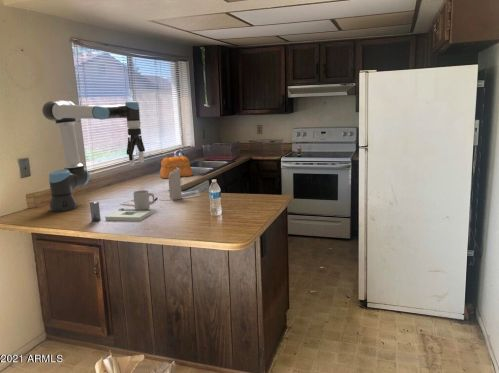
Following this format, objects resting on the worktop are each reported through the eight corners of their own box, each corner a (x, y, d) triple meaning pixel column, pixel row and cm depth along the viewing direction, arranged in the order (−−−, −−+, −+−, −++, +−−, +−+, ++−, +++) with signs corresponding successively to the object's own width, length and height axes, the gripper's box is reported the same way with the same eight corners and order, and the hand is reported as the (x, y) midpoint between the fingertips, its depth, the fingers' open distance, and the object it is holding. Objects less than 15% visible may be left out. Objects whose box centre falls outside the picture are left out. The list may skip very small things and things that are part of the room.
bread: (193, 176, 361) (192, 156, 358) (163, 179, 350) (162, 158, 347) (188, 173, 375) (187, 154, 372) (159, 176, 364) (157, 156, 361)
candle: (159, 198, 277) (157, 168, 273) (180, 196, 281) (178, 166, 277) (160, 201, 270) (158, 170, 266) (182, 199, 274) (180, 168, 270)
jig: (105, 220, 229) (105, 215, 228) (119, 212, 244) (119, 207, 243) (140, 221, 225) (139, 215, 224) (152, 213, 240) (152, 208, 240)
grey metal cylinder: (89, 221, 227) (87, 203, 225) (94, 219, 231) (92, 201, 229) (97, 221, 226) (95, 203, 224) (102, 219, 230) (100, 201, 228)
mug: (137, 212, 243) (135, 193, 241) (133, 209, 250) (131, 191, 248) (157, 209, 249) (156, 191, 247) (152, 206, 256) (151, 188, 254)
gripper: (130, 129, 235) (134, 167, 239) (148, 126, 259) (151, 161, 263) (118, 129, 236) (121, 167, 240) (136, 126, 260) (139, 161, 265)
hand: (137, 164), depth 252 cm, fingers open, 13 cm apart
